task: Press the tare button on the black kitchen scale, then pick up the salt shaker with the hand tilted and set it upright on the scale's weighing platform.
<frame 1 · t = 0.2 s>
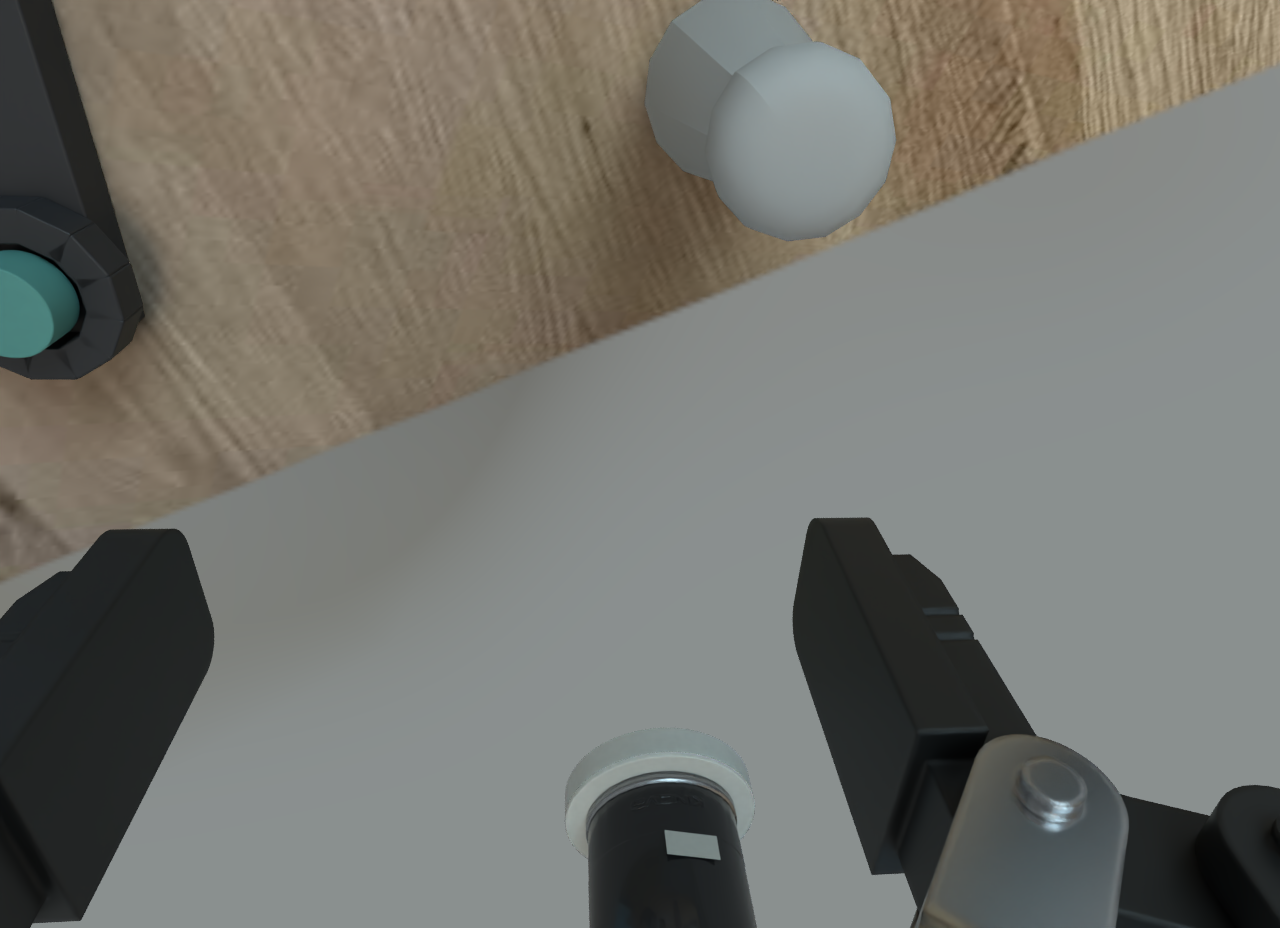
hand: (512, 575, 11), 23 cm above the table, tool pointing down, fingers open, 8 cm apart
tare button: (14, 304, 27), point 4 cm above the table, slide at 0.1 cm
salt shaker: (718, 82, 29), on the table
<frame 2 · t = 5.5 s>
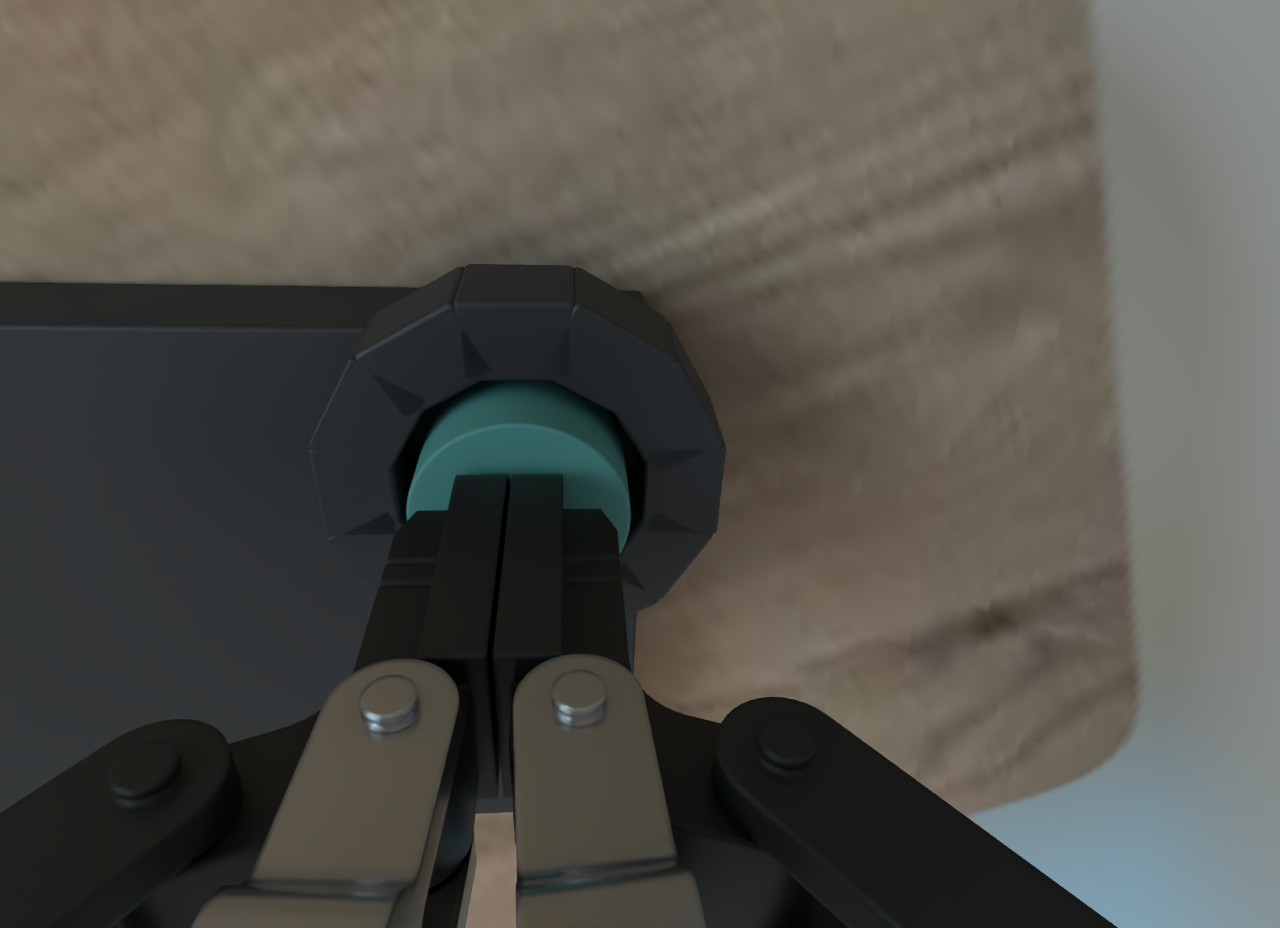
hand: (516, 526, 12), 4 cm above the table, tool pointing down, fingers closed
tare button: (522, 488, 12), point 3 cm above the table, slide at -0.5 cm, touching gripper
scale: (295, 561, 17), on the table
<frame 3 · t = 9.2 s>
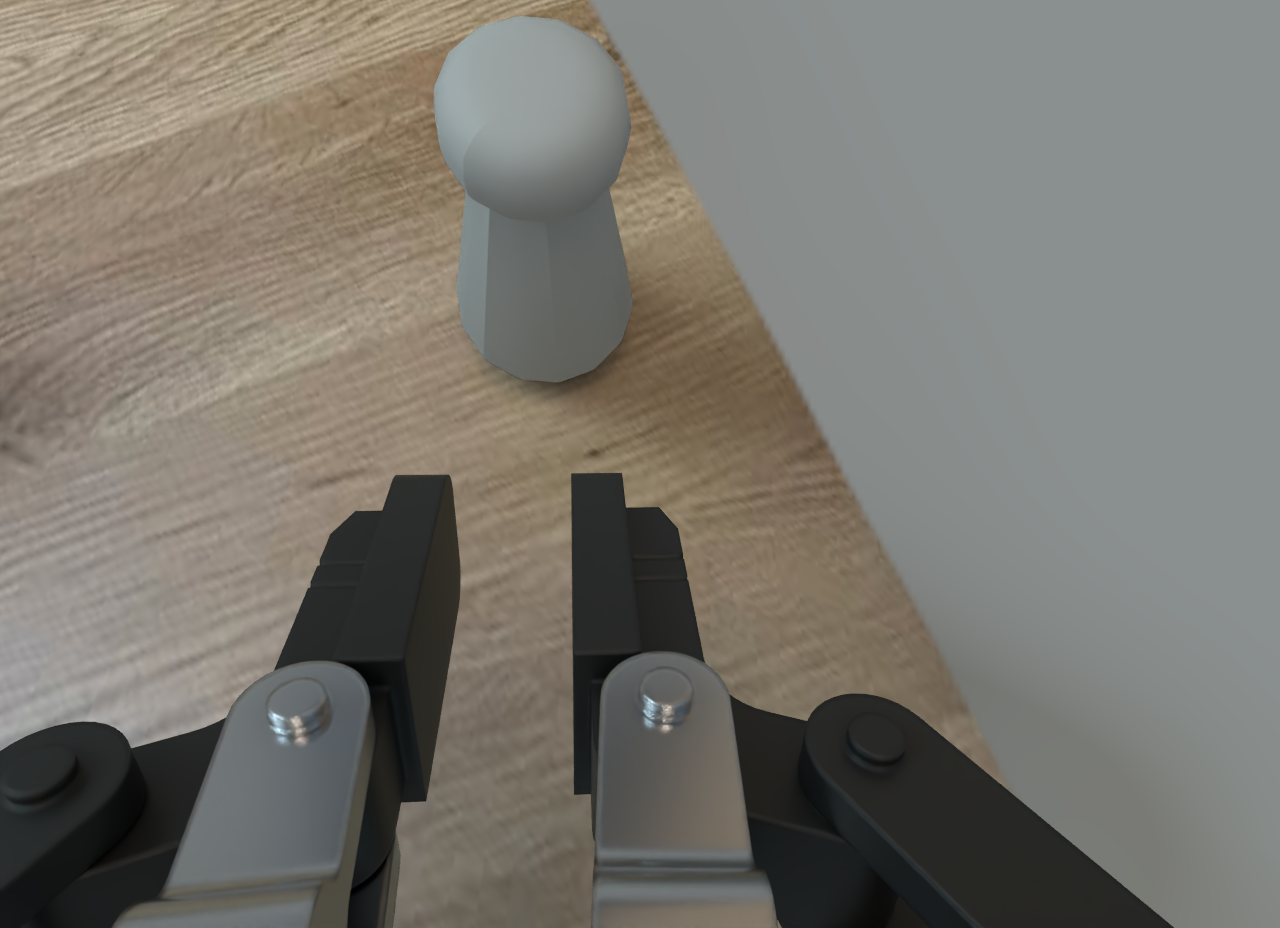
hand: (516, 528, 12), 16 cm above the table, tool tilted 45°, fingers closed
salt shaker: (547, 328, 29), on the table
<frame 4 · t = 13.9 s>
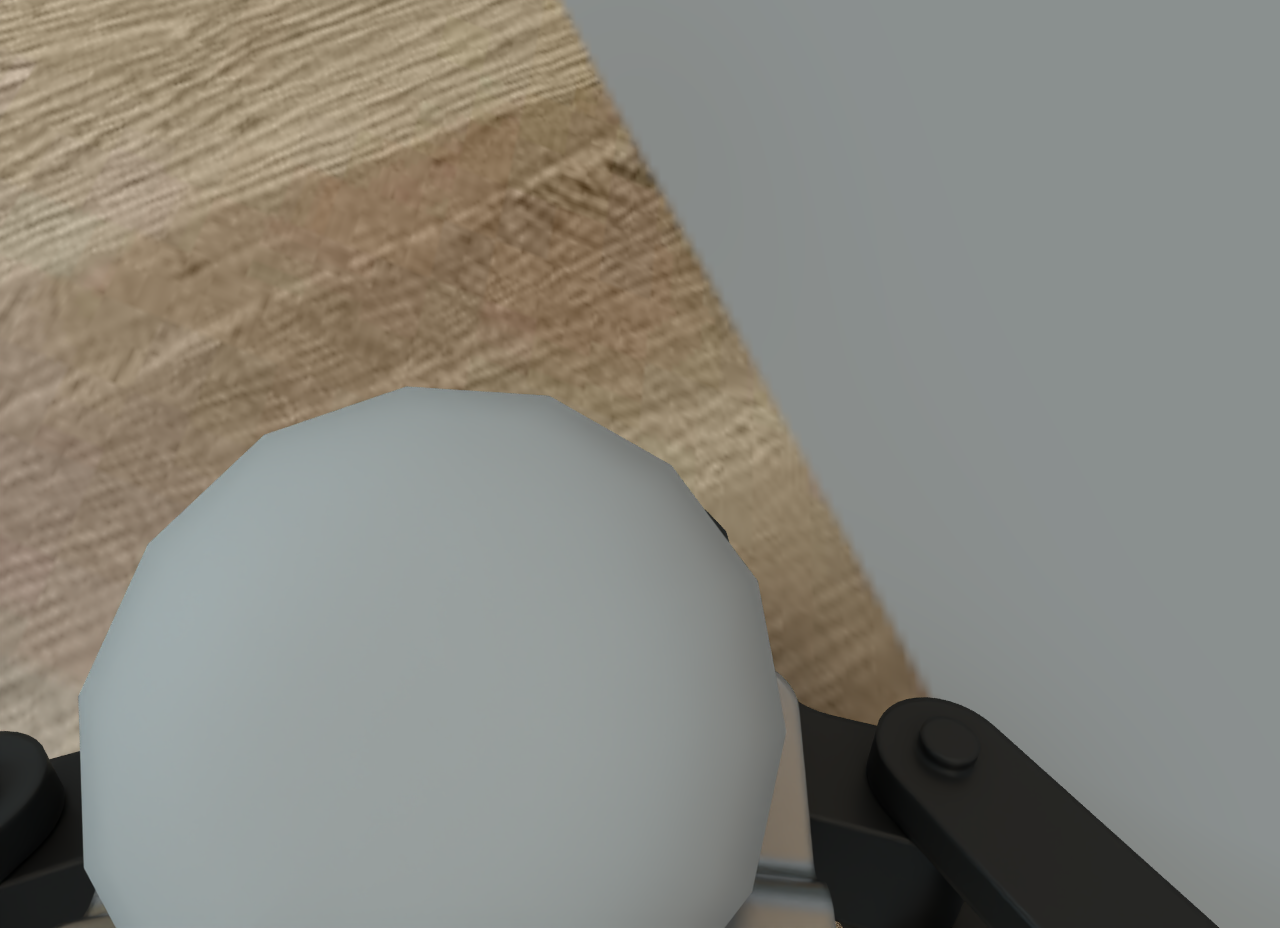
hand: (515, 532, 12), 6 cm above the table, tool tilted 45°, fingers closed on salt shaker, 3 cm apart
salt shaker: (534, 671, 17), on the table, touching gripper
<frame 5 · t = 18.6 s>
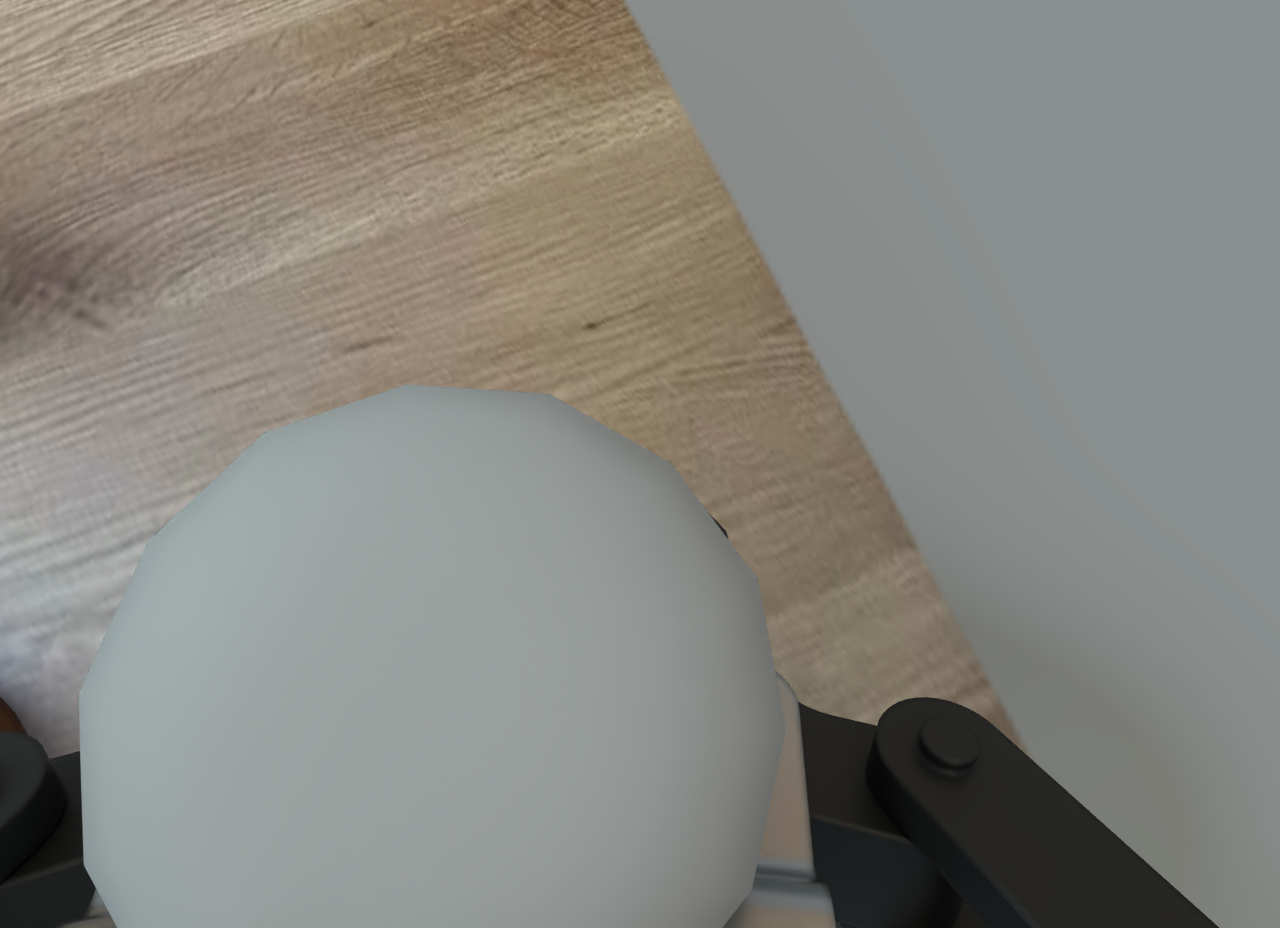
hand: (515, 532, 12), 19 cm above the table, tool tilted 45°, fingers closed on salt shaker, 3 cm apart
salt shaker: (535, 670, 17), point 13 cm above the table, touching gripper
when the fingers open (8 cm above the table, at t = 23.5 s): salt shaker stays where it is, resting on scale.
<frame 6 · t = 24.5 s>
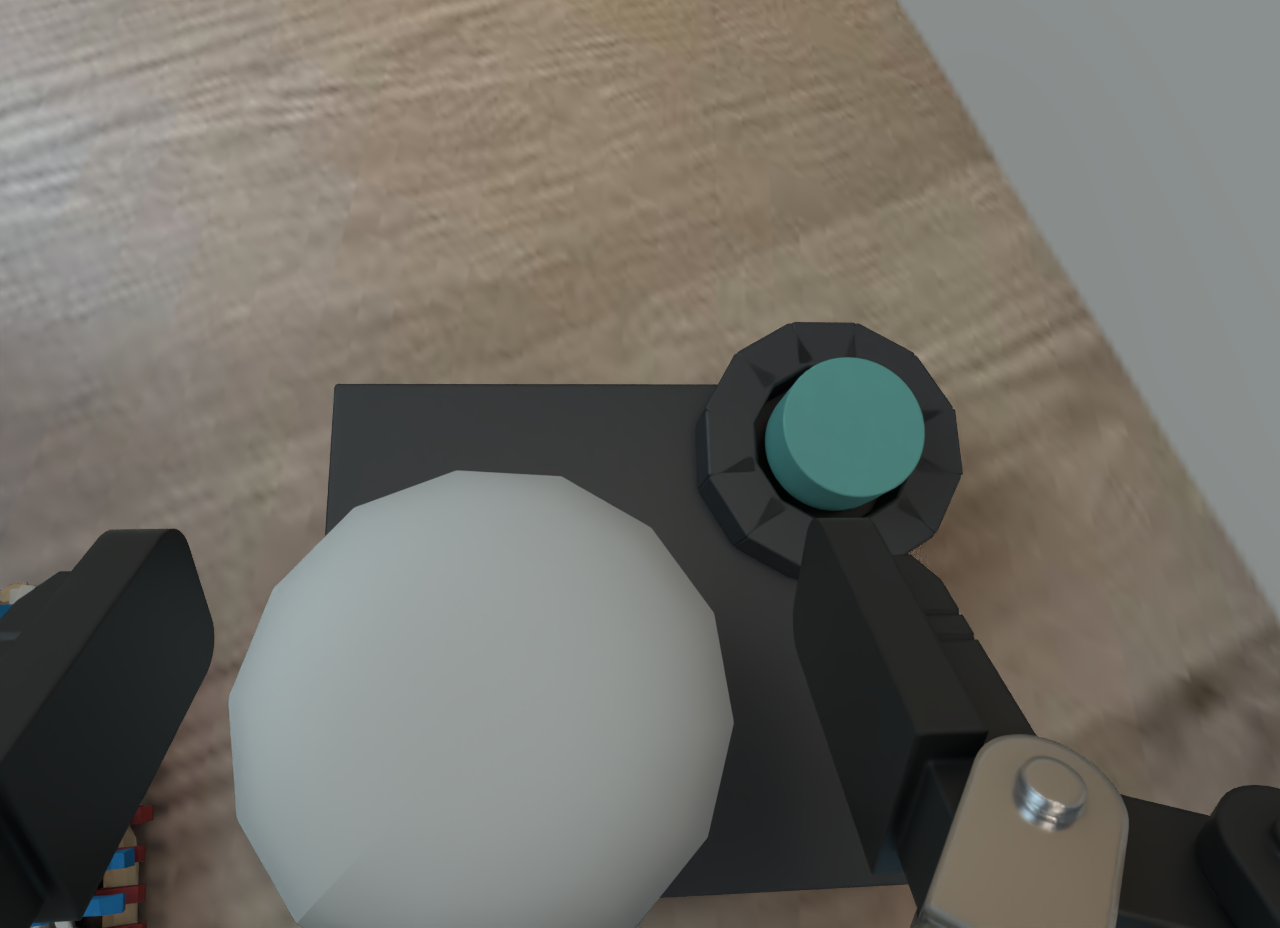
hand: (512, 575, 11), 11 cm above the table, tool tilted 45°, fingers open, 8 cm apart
tare button: (841, 436, 18), point 4 cm above the table, slide at 0.1 cm
salt shaker: (541, 676, 19), point 2 cm above the table, touching scale
scale: (617, 626, 21), on the table
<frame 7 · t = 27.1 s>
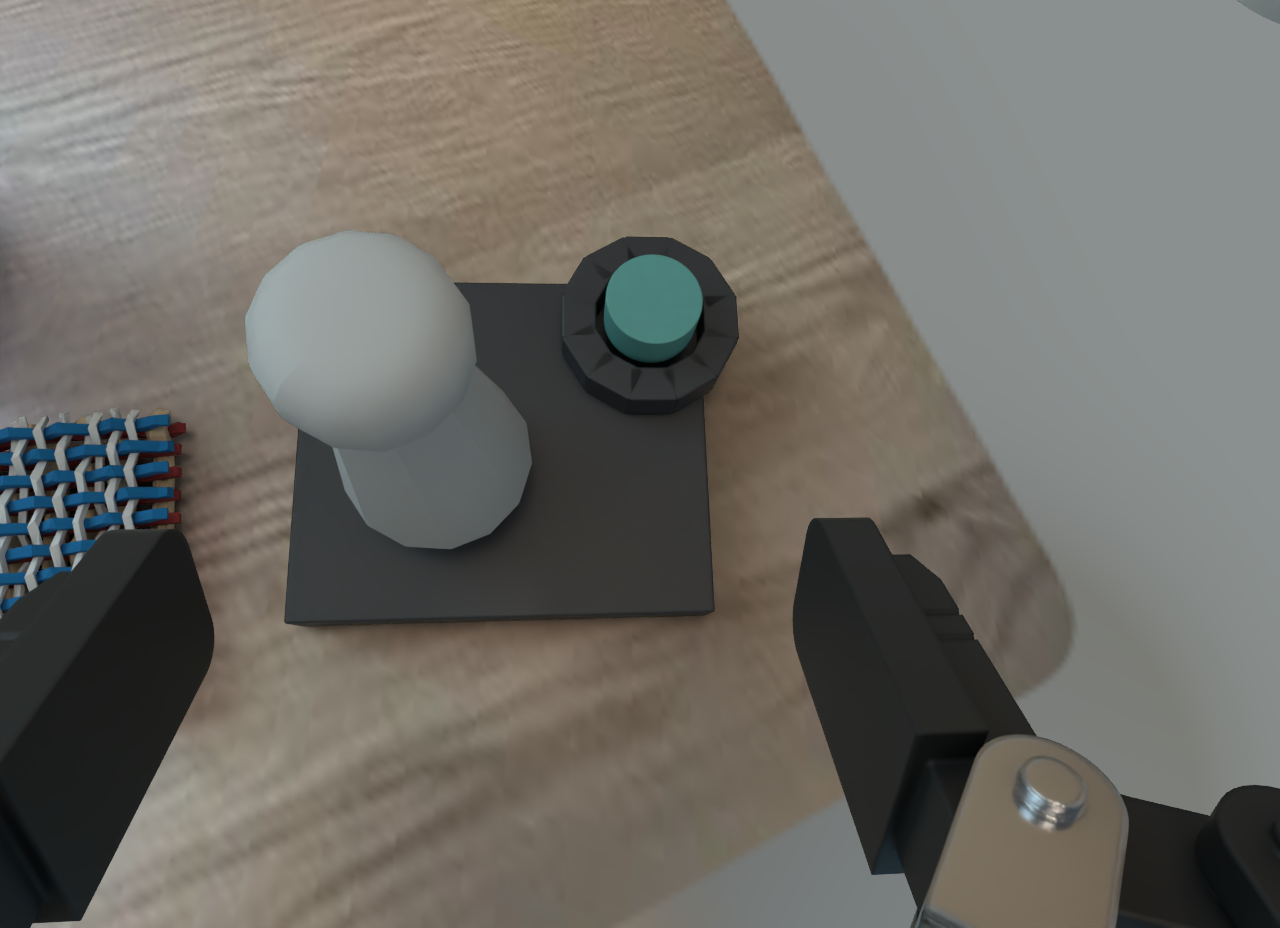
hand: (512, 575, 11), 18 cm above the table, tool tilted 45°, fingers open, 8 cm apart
woven mat: (34, 574, 27), on the table
tare button: (651, 309, 27), point 4 cm above the table, slide at 0.1 cm
salt shaker: (449, 476, 28), point 2 cm above the table, touching scale
scale: (509, 455, 30), on the table
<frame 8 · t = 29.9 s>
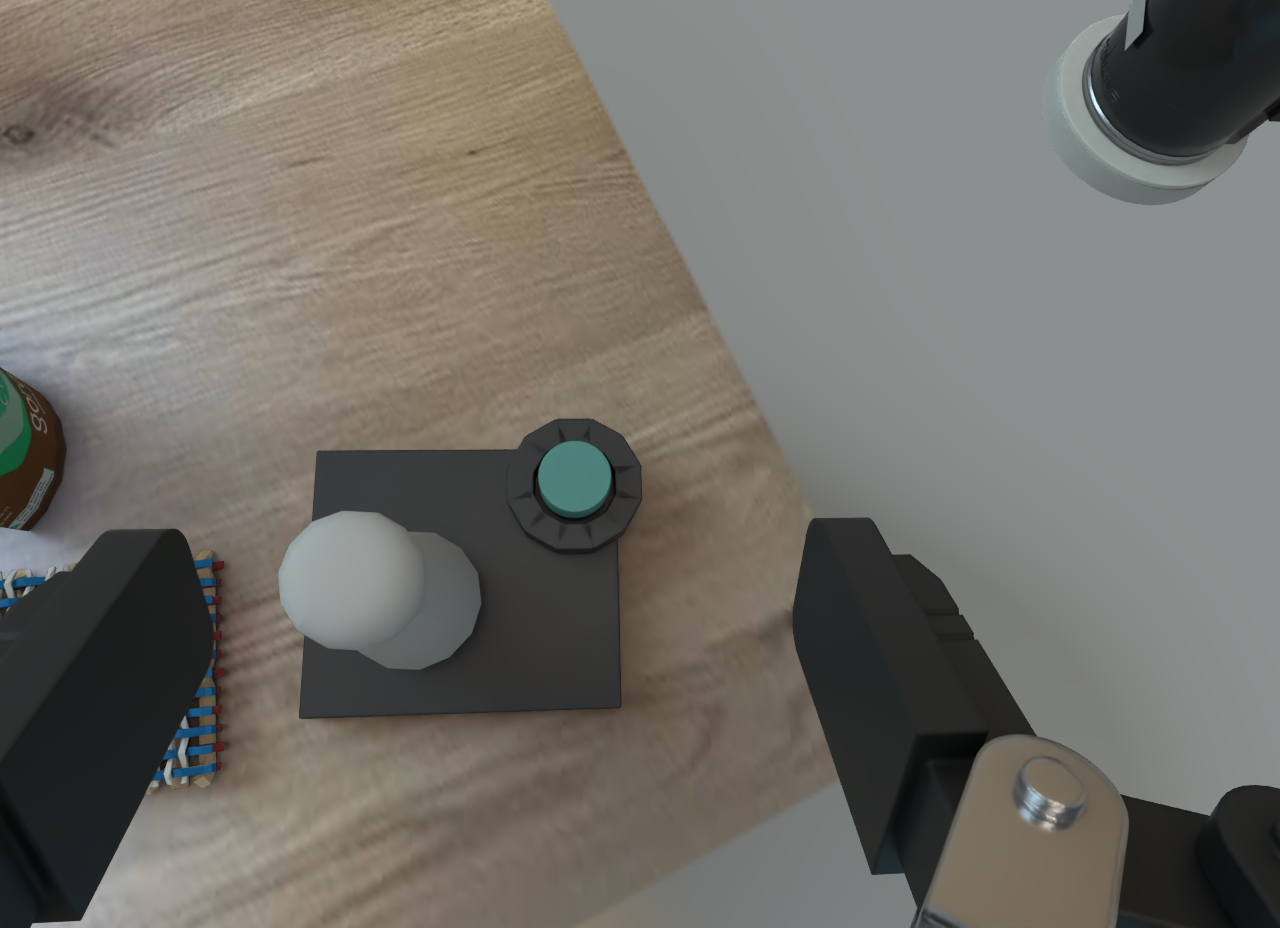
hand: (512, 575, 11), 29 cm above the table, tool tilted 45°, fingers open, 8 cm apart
food container: (10, 422, 39), on the table
woven mat: (111, 676, 37), on the table
tare button: (574, 480, 36), point 4 cm above the table, slide at 0.1 cm
salt shaker: (422, 603, 37), point 2 cm above the table, touching scale
scale: (470, 580, 39), on the table
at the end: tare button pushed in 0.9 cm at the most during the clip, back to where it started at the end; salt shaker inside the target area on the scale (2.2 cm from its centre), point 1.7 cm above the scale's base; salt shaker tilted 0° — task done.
